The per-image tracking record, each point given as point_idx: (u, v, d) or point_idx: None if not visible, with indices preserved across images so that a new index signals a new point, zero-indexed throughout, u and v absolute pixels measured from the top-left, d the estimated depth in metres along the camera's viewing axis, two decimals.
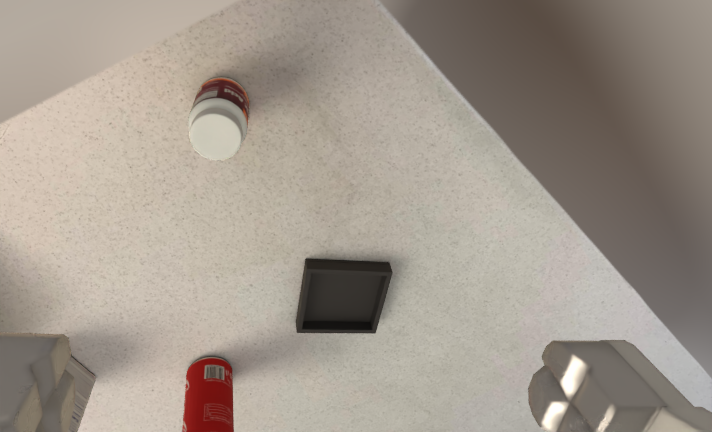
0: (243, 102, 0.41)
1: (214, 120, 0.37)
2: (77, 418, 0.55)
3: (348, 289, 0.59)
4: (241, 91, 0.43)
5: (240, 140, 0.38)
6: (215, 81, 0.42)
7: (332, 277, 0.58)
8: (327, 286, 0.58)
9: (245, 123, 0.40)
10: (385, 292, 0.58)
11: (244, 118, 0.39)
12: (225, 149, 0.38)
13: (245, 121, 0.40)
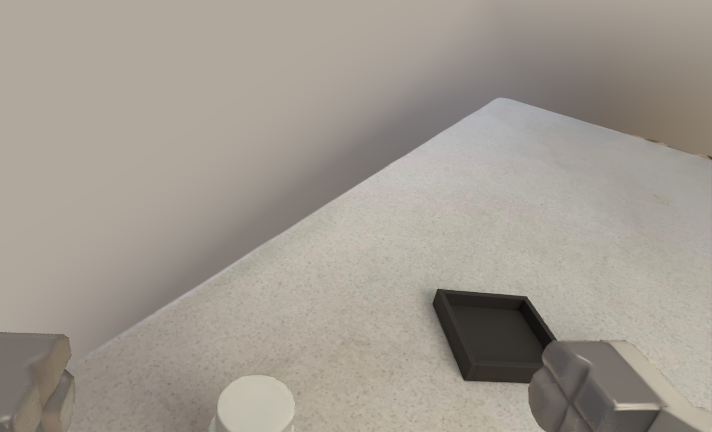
0: None
1: (227, 405, 0.24)
2: None
3: (485, 332, 0.47)
4: None
5: (258, 375, 0.26)
6: None
7: (477, 349, 0.44)
8: (492, 352, 0.44)
9: None
10: (466, 292, 0.49)
11: None
12: (274, 392, 0.26)
13: None
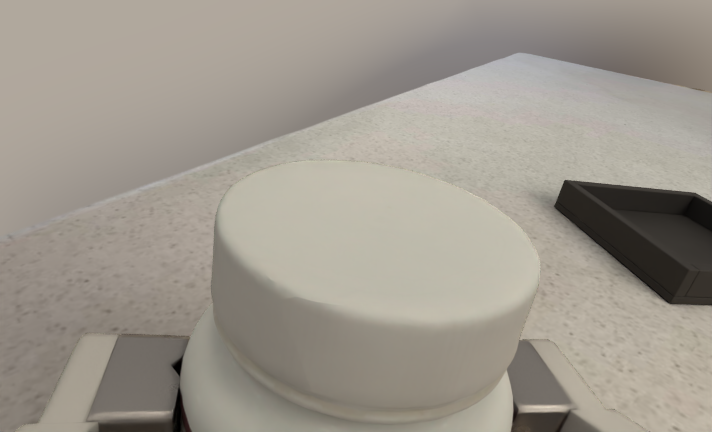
0: None
1: (261, 215, 0.06)
2: None
3: (658, 239, 0.28)
4: None
5: (355, 162, 0.08)
6: None
7: None
8: (689, 264, 0.26)
9: None
10: (609, 185, 0.31)
11: None
12: (429, 196, 0.07)
13: None
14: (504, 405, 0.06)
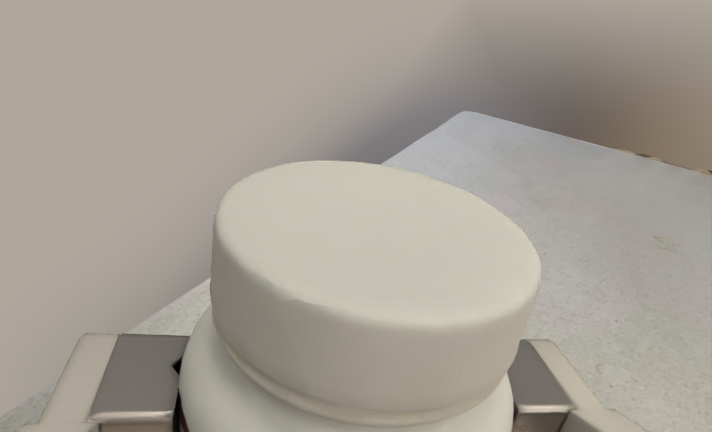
0: None
1: (260, 216, 0.06)
2: None
3: None
4: None
5: (355, 163, 0.08)
6: None
7: None
8: None
9: None
10: None
11: None
12: (429, 197, 0.07)
13: None
14: (504, 407, 0.06)
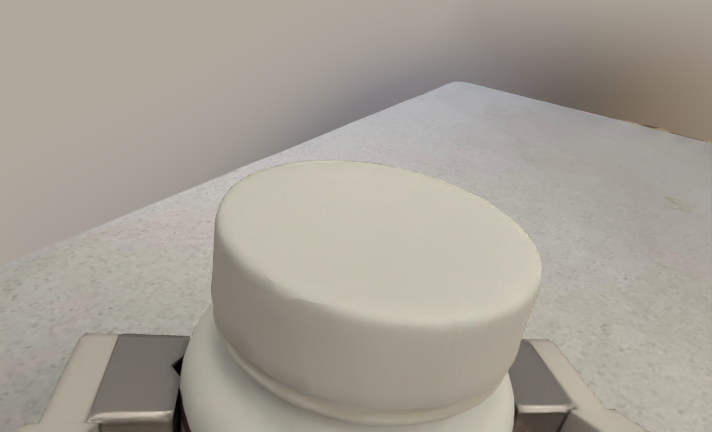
0: None
1: (261, 216, 0.06)
2: None
3: None
4: None
5: (356, 162, 0.08)
6: None
7: None
8: None
9: None
10: None
11: None
12: (430, 197, 0.07)
13: None
14: (505, 406, 0.06)
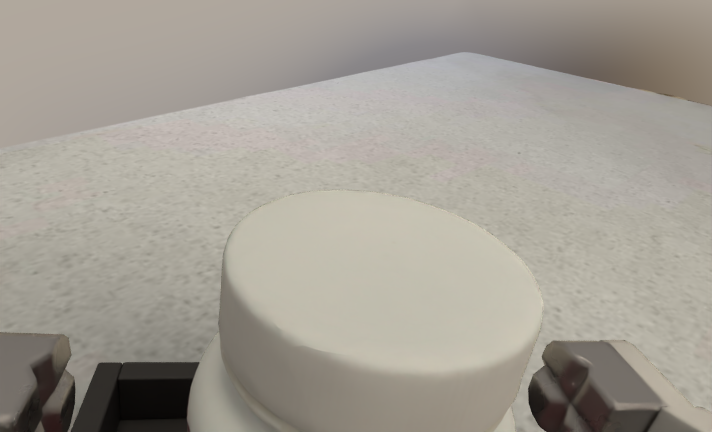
0: None
1: (268, 255, 0.06)
2: None
3: None
4: None
5: (359, 192, 0.08)
6: None
7: None
8: None
9: None
10: None
11: None
12: (433, 229, 0.07)
13: None
14: None
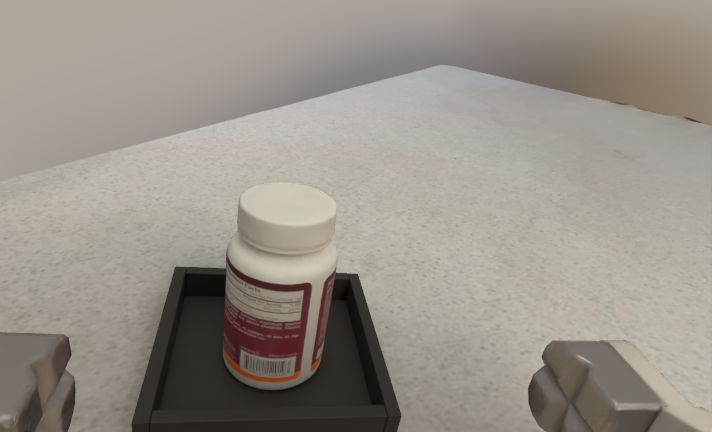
0: None
1: (252, 200, 0.19)
2: None
3: None
4: None
5: (287, 182, 0.21)
6: (224, 339, 0.22)
7: (207, 380, 0.21)
8: (240, 386, 0.21)
9: None
10: None
11: None
12: (309, 195, 0.21)
13: None
14: (328, 260, 0.20)
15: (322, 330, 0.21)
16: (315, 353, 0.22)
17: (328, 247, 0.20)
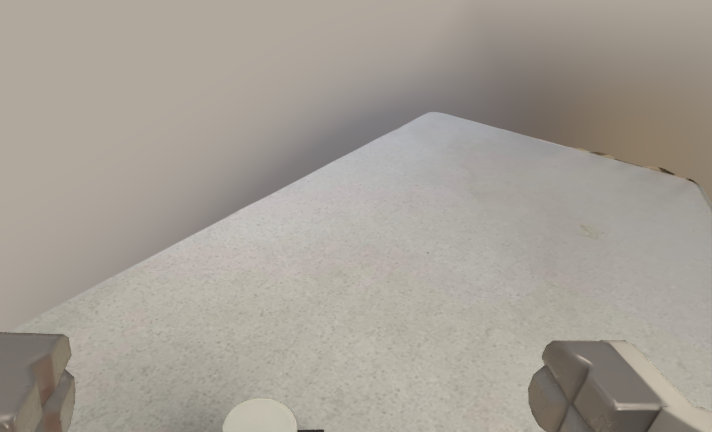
0: None
1: (231, 429, 0.25)
2: None
3: None
4: None
5: (260, 398, 0.27)
6: None
7: None
8: None
9: None
10: None
11: None
12: (276, 414, 0.27)
13: None
14: None
15: None
16: None
17: None
